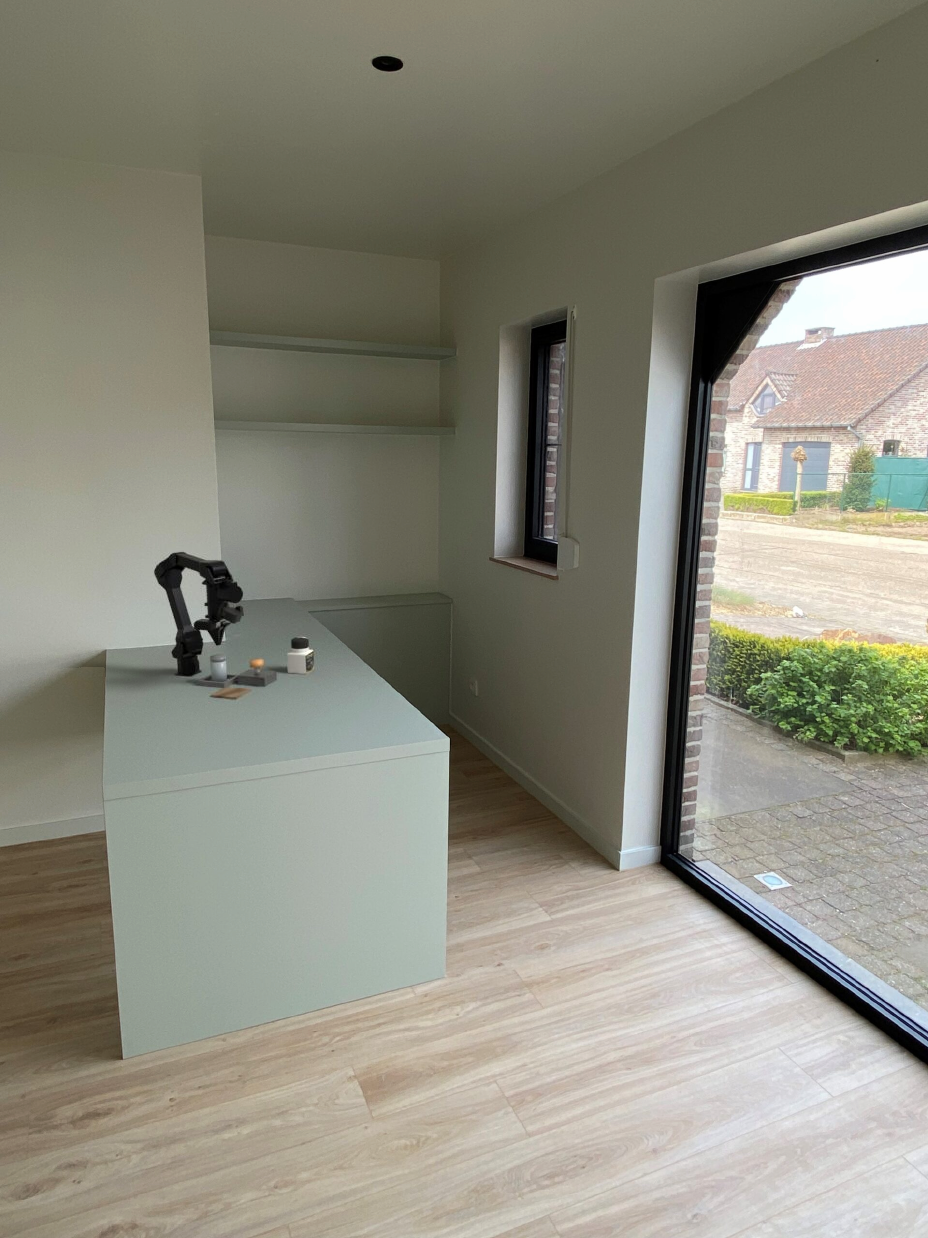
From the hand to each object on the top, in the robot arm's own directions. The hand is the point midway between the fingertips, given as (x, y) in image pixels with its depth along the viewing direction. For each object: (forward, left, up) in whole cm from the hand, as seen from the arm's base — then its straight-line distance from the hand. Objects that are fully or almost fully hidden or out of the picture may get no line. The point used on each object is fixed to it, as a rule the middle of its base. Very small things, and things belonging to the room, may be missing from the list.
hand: (218, 645), depth 265 cm
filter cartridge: (0, 0, -13) cm, 13 cm away
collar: (0, 0, -13) cm, 13 cm away
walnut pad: (+10, -10, -13) cm, 19 cm away
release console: (+12, +4, -13) cm, 18 cm away
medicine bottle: (+20, +20, -13) cm, 31 cm away
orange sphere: (+12, +4, -10) cm, 16 cm away
